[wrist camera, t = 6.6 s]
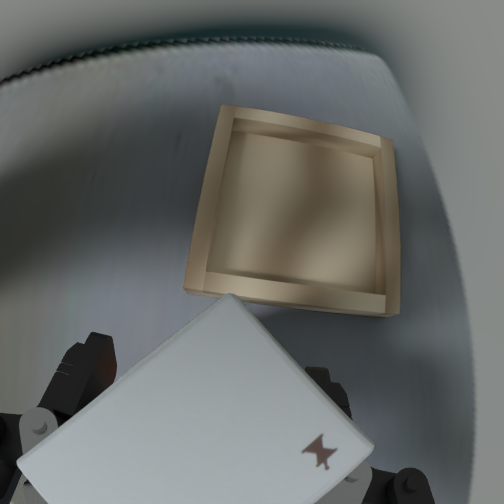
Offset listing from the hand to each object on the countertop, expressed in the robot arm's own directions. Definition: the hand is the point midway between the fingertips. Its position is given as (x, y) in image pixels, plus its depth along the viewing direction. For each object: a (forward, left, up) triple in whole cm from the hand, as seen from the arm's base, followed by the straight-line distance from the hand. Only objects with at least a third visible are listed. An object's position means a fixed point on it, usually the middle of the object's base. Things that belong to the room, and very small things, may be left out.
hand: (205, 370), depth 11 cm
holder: (+4, +10, -6) cm, 12 cm away
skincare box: (0, -2, -6) cm, 6 cm away
